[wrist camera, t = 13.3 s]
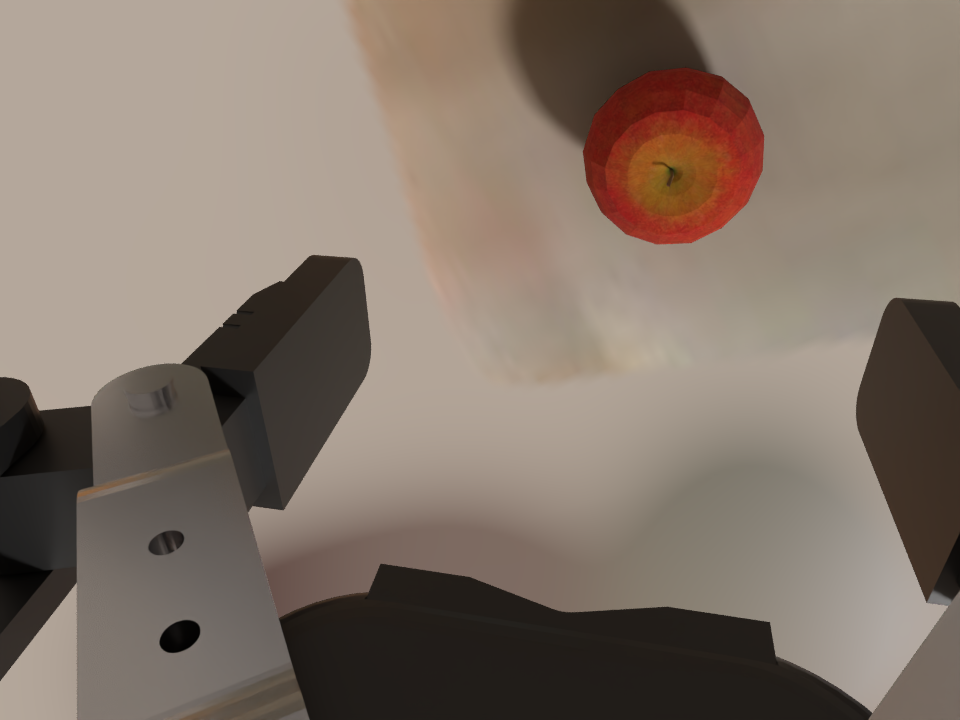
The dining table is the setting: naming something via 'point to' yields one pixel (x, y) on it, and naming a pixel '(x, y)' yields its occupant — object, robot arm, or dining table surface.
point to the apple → (674, 155)
